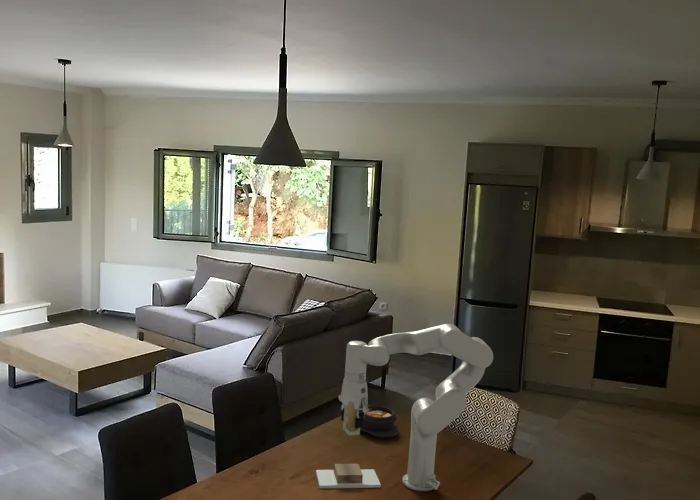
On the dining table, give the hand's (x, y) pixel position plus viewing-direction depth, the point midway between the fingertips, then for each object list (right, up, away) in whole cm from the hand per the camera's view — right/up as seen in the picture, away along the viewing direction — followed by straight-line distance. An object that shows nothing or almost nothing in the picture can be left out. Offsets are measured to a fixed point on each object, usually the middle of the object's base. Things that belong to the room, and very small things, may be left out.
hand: (351, 423), depth 226 cm
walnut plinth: (-2, -21, +2) cm, 21 cm away
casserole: (+11, -17, +51) cm, 55 cm away
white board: (-2, -21, +2) cm, 21 cm away
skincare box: (0, -3, 0) cm, 3 cm away
